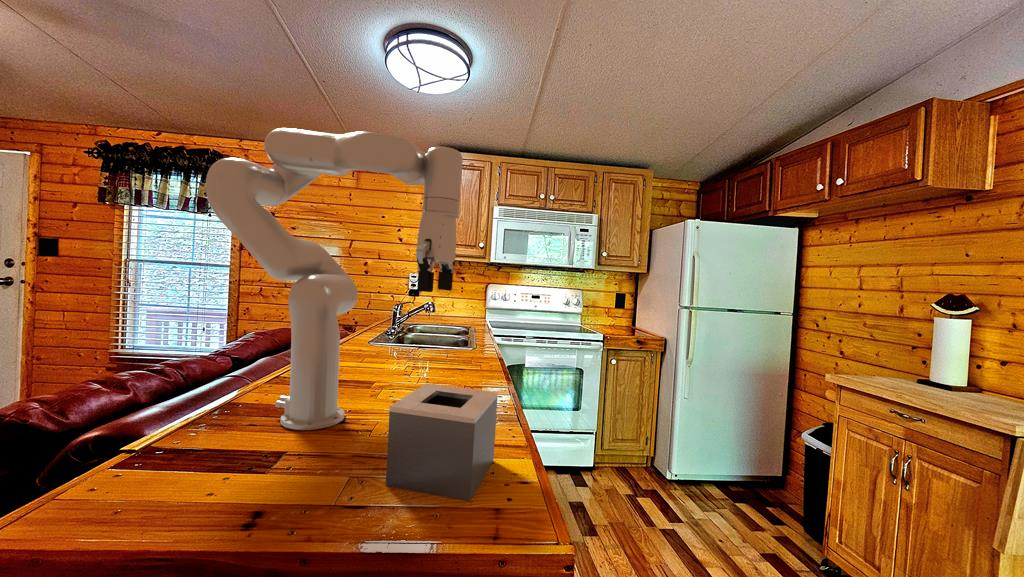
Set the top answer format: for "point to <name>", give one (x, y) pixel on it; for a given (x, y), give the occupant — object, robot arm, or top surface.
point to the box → (441, 440)
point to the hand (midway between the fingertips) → (435, 290)
